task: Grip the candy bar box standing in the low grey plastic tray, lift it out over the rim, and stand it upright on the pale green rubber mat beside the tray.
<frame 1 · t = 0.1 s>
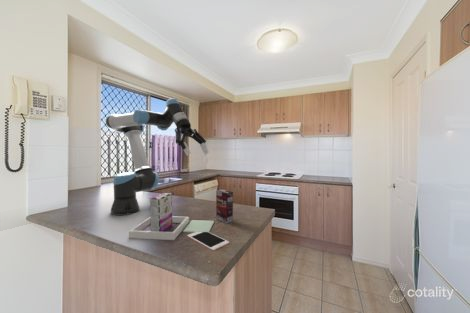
hand: (198, 153, 104), 36 cm above the countertop, tool tilted 35°, fingers open, 13 cm apart
candy bar box: (161, 230, 94), resting in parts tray
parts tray: (161, 229, 94), on the countertop
supplement box: (224, 220, 107), on the countertop
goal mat: (199, 226, 97), on the countertop
cell phone: (207, 240, 84), on the countertop
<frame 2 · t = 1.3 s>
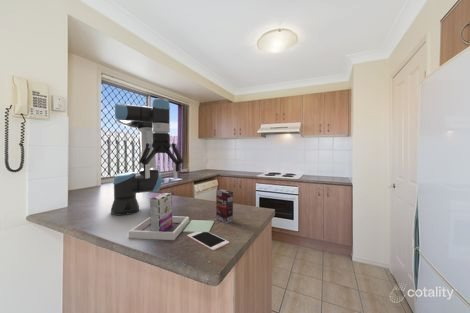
hand: (161, 178, 93), 24 cm above the countertop, tool pointing down, fingers open, 13 cm apart
nothing on the countertop moved.
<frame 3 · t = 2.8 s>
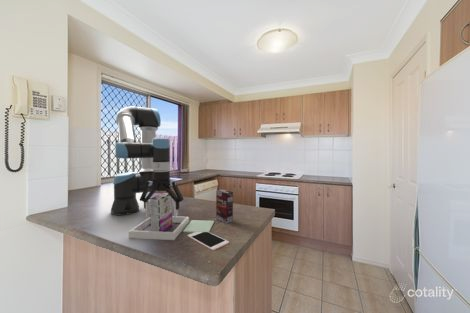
hand: (161, 215, 93), 7 cm above the countertop, tool pointing down, fingers open, 13 cm apart
nothing on the countertop moved.
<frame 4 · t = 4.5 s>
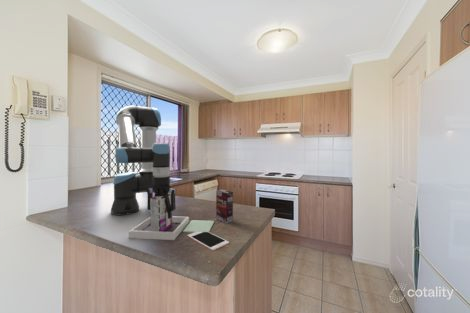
hand: (161, 224, 94), 2 cm above the countertop, tool pointing down, fingers closed on candy bar box, 5 cm apart
candy bar box: (161, 229, 94), resting in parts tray, touching gripper
everything else where it was.
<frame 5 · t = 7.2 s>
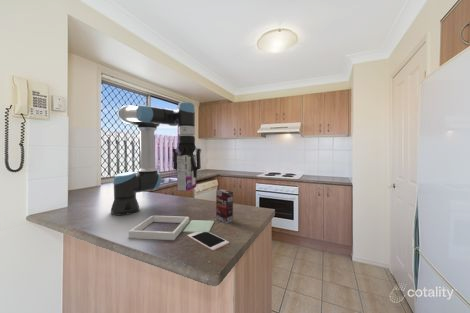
hand: (187, 184, 95), 21 cm above the countertop, tool pointing down, fingers closed on candy bar box, 5 cm apart
candy bar box: (187, 189, 95), point 19 cm above the countertop, touching gripper
everything else where it was.
when the fingers open (4 cm above the countertop, at t = 9.9 s): candy bar box stays where it is, resting on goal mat.
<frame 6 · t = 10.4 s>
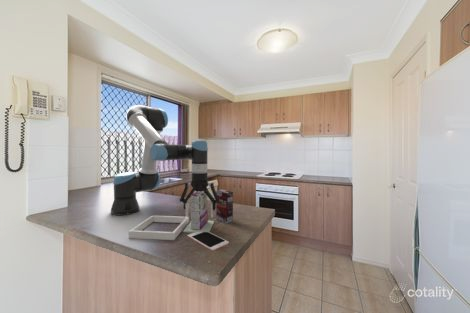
hand: (199, 216, 97), 5 cm above the countertop, tool pointing down, fingers open, 12 cm apart
candy bar box: (199, 225, 97), resting on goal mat
everything else where it was.
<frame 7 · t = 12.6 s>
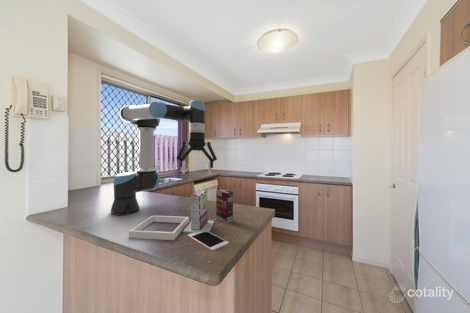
hand: (196, 174, 101), 26 cm above the countertop, tool pointing down, fingers open, 13 cm apart
nothing on the countertop moved.
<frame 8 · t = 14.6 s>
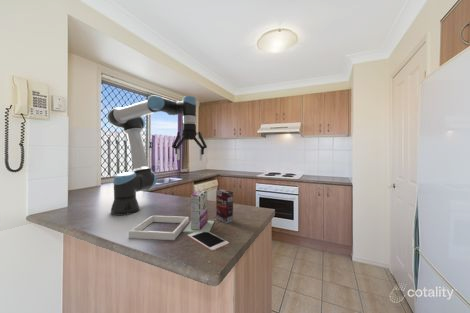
hand: (189, 160, 116), 32 cm above the countertop, tool pointing down, fingers open, 13 cm apart
nothing on the countertop moved.
at the end: candy bar box inside the target area on the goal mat (0.1 cm from its centre), point 0.4 cm above the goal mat's base; candy bar box tilted 0°; the gripper is holding nothing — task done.
